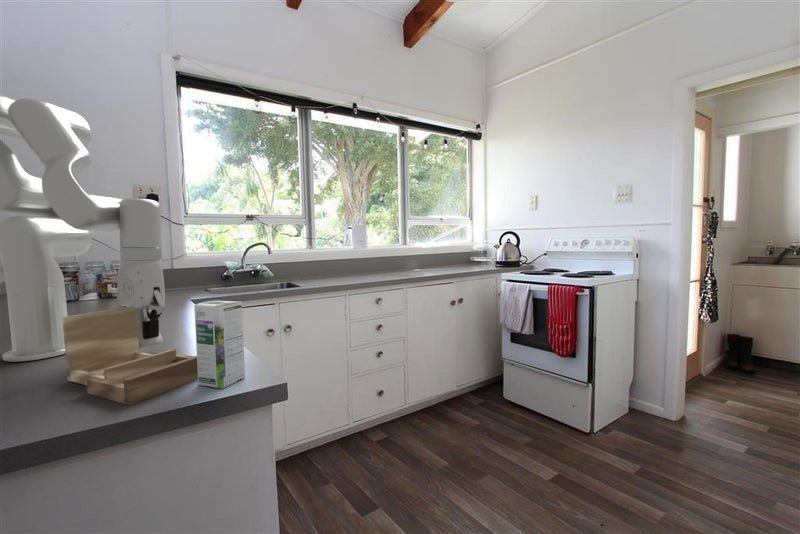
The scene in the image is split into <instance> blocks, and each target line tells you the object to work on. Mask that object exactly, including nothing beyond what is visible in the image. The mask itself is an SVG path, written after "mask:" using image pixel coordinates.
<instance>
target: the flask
mask: <svg viewBox="0 0 800 534" xmlns="http://www.w3.org/2000/svg"><path fill="white" fill-rule="evenodd" d="M149 306H151V305H149ZM147 307H148V306H147ZM151 311H152V309H149V314H150V312H151ZM136 315H137V329H138V343H139V348H146V347H150V346H151V347H152V346H156V345H159V344H160V343H162V342H163V341H164V339H163V336H162V334H161V332H160V331H159V336H158V337H154V338H150V339H143V324H142V321H145V319H144V314H143V309H139V308H136Z"/></svg>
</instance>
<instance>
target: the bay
mask: <svg viewBox="0 0 800 534" xmlns="http://www.w3.org/2000/svg"><path fill="white" fill-rule="evenodd" d="M123 381H124V384H123V383H119V382H115V381H111V380H107V379H103V378H99V377H92V378H88V379H87V385H86V387H87V388H86V390H87V394H89V395H92V396H94V397H95V396H96V397H99V398H103V399H107V400H109V401H113V402H117V403H119V404H123V405H127V406H131V407H132V406H133V405H137V404H138V403H140V402H143V401H145V400H147V399H150V398H153V397H156V396H158V395H161V394H163V393H166V392H168V391H171V390H174V389H176V388H179V387H181V386H184V385H187V384H189V383H191V382H195V381H198V369H197V355H196V356H193V355H187V354H183V353H177V352H176V363H173V364H170V365H166V366H163V367H160V368H157V369H154V370H151V371H148V372H145V373H142V374H139V375H135V376H132V377H129V378H126V379H123Z"/></svg>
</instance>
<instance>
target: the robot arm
mask: <svg viewBox="0 0 800 534" xmlns="http://www.w3.org/2000/svg"><path fill="white" fill-rule="evenodd" d="M0 134H1V135H5V136H10V137H13V138H17V139H21V140H23V141H25V142H26V144H27V145H28V146H29V148H30V149H31V150H32V152H33V153H34V154H35V156H36V157H37V159H38V161H40V162H41V164H42V165H43V166H44V169H43V170H42V175H41V177H40V176H33V175H32V174H29V173H27V172H26V170H25V169H24V168H23V165H22V164H21V162H20V160H19V158H18V156H17V155H16V153H15V152H14V151H13V150H12V149H11V148H10V147H9V145H7V144H6V143H5V142H4V141H3V140H2V139H0V214H2V215H9V216H10V215H11V217H8V218H5V219H3V220H1V221H0V261H1V264H2V268H3V272H4V273H3V274H4V283H5V289H6V297H7V299H6V300H7V308H8V317H9V327H10V338H11V348H12V349H11V350H8V351H6V352H4V353H3V354H2V360H3V361H4V362H9V363H10V362H14V363H15V362H16V363H17V362H28V361H29V362H30V361H38V360H43V359H48V358H49V359H50V358H54V357H58V356H61V355H65V344H64V333H63V321H62V317H66V316H68V309H67V298H66V297H67V296H66V295H67V294H66V285H65V279H64V278H65V277H64V274H63V271H62V269H61V268H60V266H59V264H58V263H57V262H56V261H55V259H54V258H65V257H66V258H67V257H76V256H81V255H83V254H84V253H87V252H88V250H89V249H90V247H91V245H92V242H93V241H92V240H93V239H92V238H93V237H92V234H91V232H93V231H95V232H97V231H98V232H118V233H119V246H120V247H119V249H120V250H119V251H120V253H119V254H120V256H119V257H120V261H119V262H120V263H119V267H118V271H117V272H118V273H117V284H116V285H117V287H116V288H117V290H116V301H117V303H118V304H119V305H121V306H122V307H129V306H136V308H139V309H143V314H144V319H145V321H142V324H143V339H150V338H154V337H158V336H159V332H160V323H159V322H160V319H161V315H162V314H163V312H164V311H166V309H167V305H166V303H165V296H166V294H165V293H166V292H165V291H166V290H165V288H166V287H165V279H164V269H163V264H162V262H163V259H162V256H163V254H162V251H163V249H162V246H163V245H162V243H163V242H162V207H161V205H160V203H159V202H158V201H156V200H153V199H148V198H136V197H135V198H133V197H132V198H128V197H127V198H118V197H110V196H104V195H103V196H102V195H97V194H96V195H95V194H89V193H88V194H87V192H85V191H84V189H83V187H81V186H80V185H79V183H78V182H77V180H76V179H75V177H74V176H75V175H76V176H77V175H78V174H81V173H82V172H84V171H85V170H86V169H89V167H90V165H91V163H92V155H91V153H90V152H89V150H88V149H87V148H86V146H87V145H88V144H89V143H90V141H91V139H92V131H91V127H90V125H89V123H88V122H87V121H86V119H85V118H84V117H83V116H81V115H80V114H79V113H77V112H75V111H72V110H69V109H66V108H63V107H60V106H58V105H55V104H53V103H50V102H46V101H45V100H40V99H35V98H28V97H27V98H19V99H17V100H16V99H14V98H12V97H8V96H5V95H3V94H0ZM149 305H150V306H149ZM147 306H148V307H147ZM149 309H150V310H151V312H150V314H149Z"/></svg>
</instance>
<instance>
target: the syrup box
mask: <svg viewBox="0 0 800 534" xmlns="http://www.w3.org/2000/svg"><path fill="white" fill-rule="evenodd" d="M243 319H244V318H243V301H231V300H230V301H229V300H208V301H203V302H199V303H196V304H194V327H195V328H194V329H195V342H196V344H195V345H196V346H195V347H196V356H197V369H198V379H197V384H198V386H201V387H202V386H206V387H210V388H216V389H221V390H222V389H224V388H227V387H229V386H230V385H233V384H235V383H237V382H239V381H241V380H242V379H245V378H246V369H245V368H246V367H245V364H246V363H245V342H244V320H243ZM240 379H241V380H240ZM238 380H239V381H238Z"/></svg>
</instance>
